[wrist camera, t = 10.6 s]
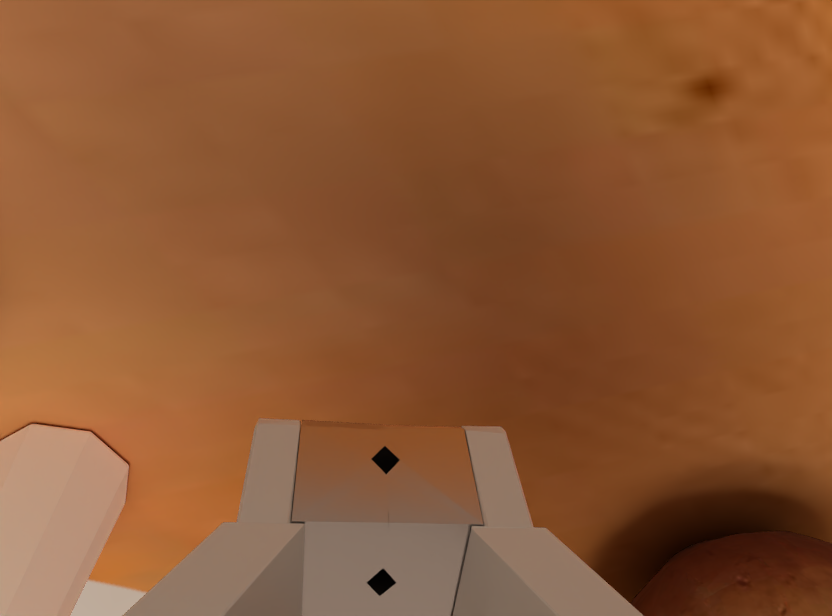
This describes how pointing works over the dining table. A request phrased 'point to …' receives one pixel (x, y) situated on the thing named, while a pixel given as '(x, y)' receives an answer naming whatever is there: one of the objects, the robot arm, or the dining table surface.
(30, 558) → the salt shaker
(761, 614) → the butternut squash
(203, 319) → the dining table surface
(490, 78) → the dining table surface
